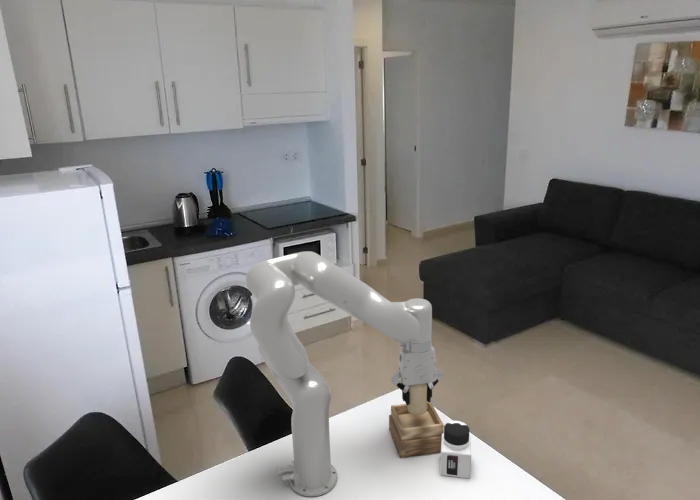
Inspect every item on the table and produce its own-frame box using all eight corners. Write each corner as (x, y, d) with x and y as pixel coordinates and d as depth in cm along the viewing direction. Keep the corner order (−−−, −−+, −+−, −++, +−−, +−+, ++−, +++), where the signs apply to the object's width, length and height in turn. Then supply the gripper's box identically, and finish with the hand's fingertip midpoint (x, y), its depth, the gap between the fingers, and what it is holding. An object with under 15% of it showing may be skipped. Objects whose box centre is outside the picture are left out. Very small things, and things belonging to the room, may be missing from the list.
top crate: (401, 441, 144) (401, 430, 143) (391, 415, 155) (390, 405, 154) (443, 435, 146) (443, 425, 145) (429, 410, 157) (430, 400, 156)
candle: (405, 404, 151) (405, 374, 148) (424, 403, 152) (424, 372, 149) (409, 416, 146) (409, 384, 143) (428, 414, 146) (429, 383, 143)
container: (470, 479, 136) (472, 437, 132) (440, 475, 138) (441, 433, 134) (469, 459, 143) (471, 418, 140) (441, 456, 145) (442, 415, 141)
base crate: (400, 458, 144) (400, 443, 143) (389, 429, 157) (389, 415, 155) (445, 452, 146) (446, 437, 145) (430, 423, 159) (430, 409, 157)
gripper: (390, 353, 138) (390, 412, 143) (452, 346, 140) (450, 404, 146) (383, 340, 145) (384, 397, 150) (443, 334, 147) (441, 390, 153)
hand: (417, 400), depth 148 cm, fingers closed on candle, 5 cm apart
